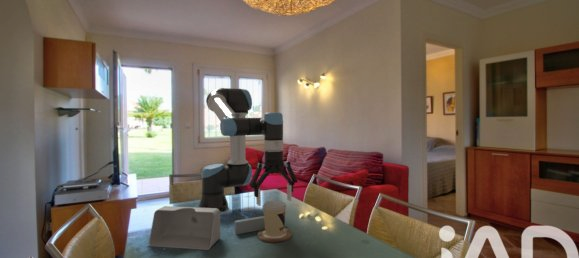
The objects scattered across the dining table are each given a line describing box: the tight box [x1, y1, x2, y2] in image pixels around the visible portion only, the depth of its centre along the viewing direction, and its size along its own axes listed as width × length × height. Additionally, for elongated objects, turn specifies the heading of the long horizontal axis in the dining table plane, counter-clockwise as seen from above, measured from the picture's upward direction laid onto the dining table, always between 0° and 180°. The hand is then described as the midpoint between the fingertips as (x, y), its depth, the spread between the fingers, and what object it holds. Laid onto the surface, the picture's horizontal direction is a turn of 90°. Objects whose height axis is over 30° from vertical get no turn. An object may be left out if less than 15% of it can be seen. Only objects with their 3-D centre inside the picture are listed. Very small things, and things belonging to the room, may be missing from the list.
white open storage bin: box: [148, 205, 221, 251], centre depth 110 cm, size 25×16×12 cm, turn 81°
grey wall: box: [234, 215, 265, 235], centre depth 119 cm, size 2×22×5 cm, turn 116°
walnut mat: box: [257, 227, 293, 244], centre depth 113 cm, size 14×14×1 cm
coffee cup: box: [262, 200, 287, 237], centre depth 113 cm, size 9×9×12 cm
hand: (274, 202), depth 112 cm, fingers open, 13 cm apart
